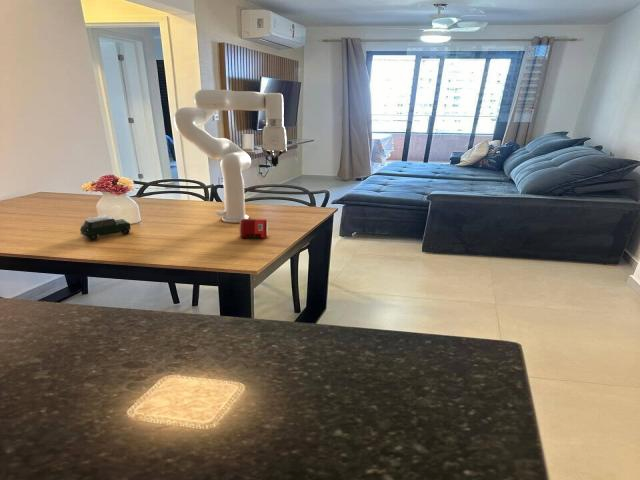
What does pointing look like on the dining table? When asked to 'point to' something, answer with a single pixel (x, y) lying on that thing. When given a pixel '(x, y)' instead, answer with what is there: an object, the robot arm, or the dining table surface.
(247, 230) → the canned food
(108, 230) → the miniature car
